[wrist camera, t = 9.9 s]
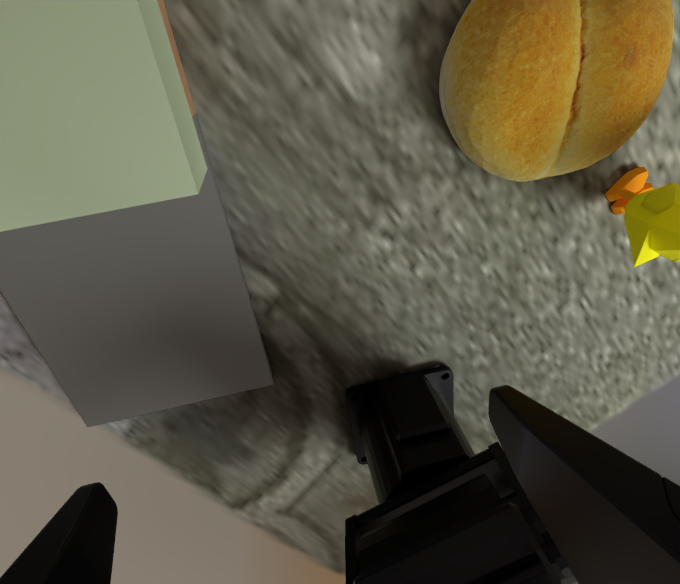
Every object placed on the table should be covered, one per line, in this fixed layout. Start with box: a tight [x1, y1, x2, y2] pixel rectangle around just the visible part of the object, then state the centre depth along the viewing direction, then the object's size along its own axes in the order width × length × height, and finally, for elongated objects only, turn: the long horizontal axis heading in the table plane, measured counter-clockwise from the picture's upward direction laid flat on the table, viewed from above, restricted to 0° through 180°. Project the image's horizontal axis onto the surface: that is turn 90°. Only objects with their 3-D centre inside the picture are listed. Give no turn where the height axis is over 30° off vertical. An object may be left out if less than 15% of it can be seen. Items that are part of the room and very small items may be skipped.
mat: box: [0, 113, 274, 427], centre depth 20 cm, size 14×10×1 cm
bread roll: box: [439, 0, 674, 181], centre depth 17 cm, size 8×9×4 cm
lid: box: [0, 0, 207, 232], centre depth 11 cm, size 10×6×3 cm, turn 8°
